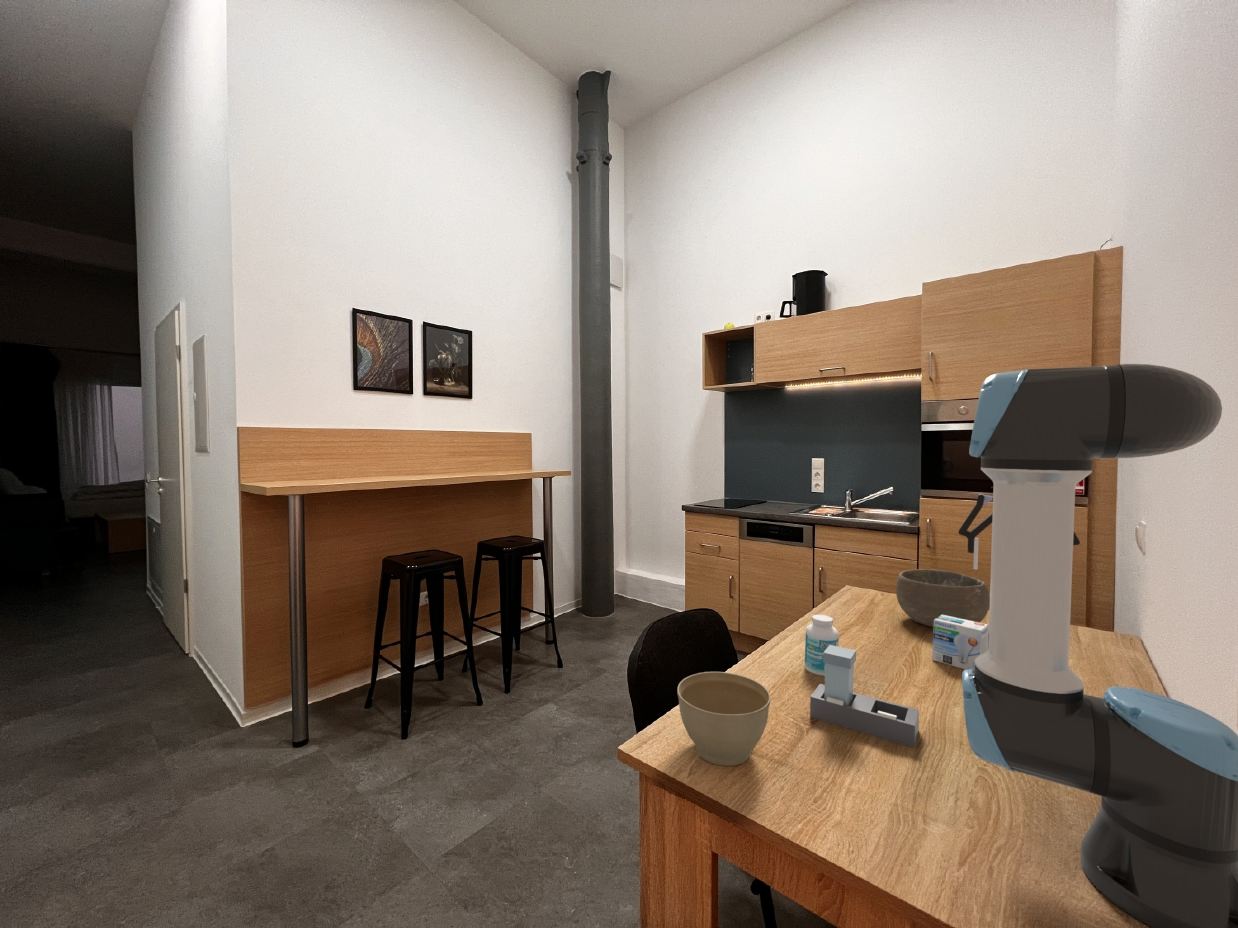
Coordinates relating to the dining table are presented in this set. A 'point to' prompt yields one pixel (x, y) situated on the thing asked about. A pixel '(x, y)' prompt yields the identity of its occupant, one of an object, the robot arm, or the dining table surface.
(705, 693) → the planter bowl
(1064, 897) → the dining table surface
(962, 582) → the bowl
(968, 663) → the light bulb box
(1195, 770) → the robot arm
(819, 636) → the pill bottle
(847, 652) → the plug
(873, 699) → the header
